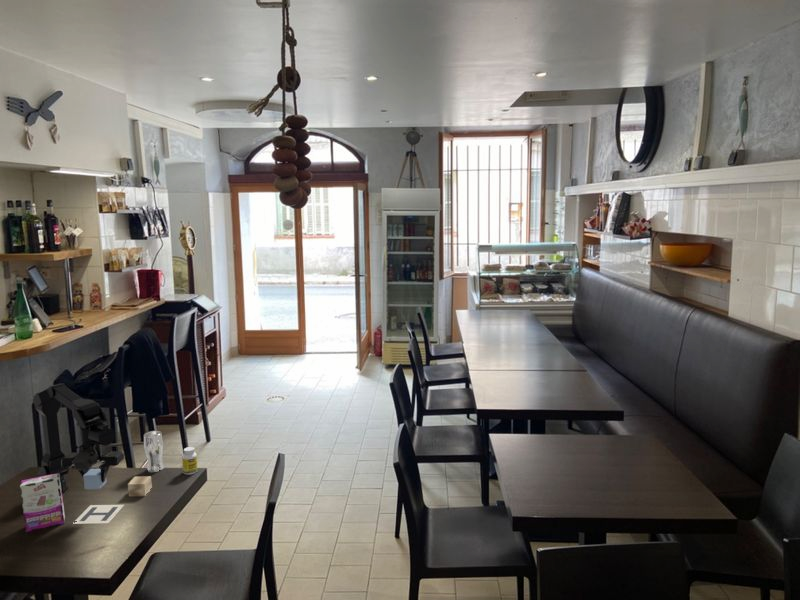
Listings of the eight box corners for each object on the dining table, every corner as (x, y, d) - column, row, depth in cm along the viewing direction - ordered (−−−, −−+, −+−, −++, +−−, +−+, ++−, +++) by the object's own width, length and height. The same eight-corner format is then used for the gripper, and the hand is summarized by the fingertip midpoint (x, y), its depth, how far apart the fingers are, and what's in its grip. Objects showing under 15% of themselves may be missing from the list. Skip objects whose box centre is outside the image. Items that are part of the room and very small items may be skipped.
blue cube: (84, 489, 198) (83, 475, 197) (92, 482, 203) (90, 468, 202) (99, 488, 198) (98, 475, 197) (106, 482, 203) (105, 468, 202)
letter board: (72, 523, 196) (72, 523, 196) (90, 505, 207) (90, 505, 207) (108, 523, 196) (108, 523, 196) (124, 504, 208) (124, 504, 208)
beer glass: (142, 470, 234) (139, 435, 231) (156, 463, 240) (153, 429, 237) (154, 474, 231) (151, 438, 228) (168, 467, 237) (165, 432, 234)
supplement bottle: (189, 476, 229) (187, 452, 227) (180, 473, 232) (178, 449, 230) (200, 470, 233) (198, 447, 232) (191, 467, 236) (189, 444, 234)
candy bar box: (65, 516, 200) (60, 472, 197) (64, 523, 196) (59, 478, 193) (26, 525, 195) (20, 479, 192) (25, 532, 191) (19, 486, 188)
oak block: (129, 497, 213) (127, 484, 213) (136, 488, 219) (134, 476, 219) (145, 496, 214) (144, 484, 213) (152, 488, 219) (151, 476, 219)
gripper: (49, 450, 190) (54, 494, 192) (107, 448, 190) (112, 493, 192) (67, 436, 201) (72, 479, 203) (122, 434, 201) (126, 477, 203)
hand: (95, 482), depth 200 cm, fingers closed on blue cube, 5 cm apart
